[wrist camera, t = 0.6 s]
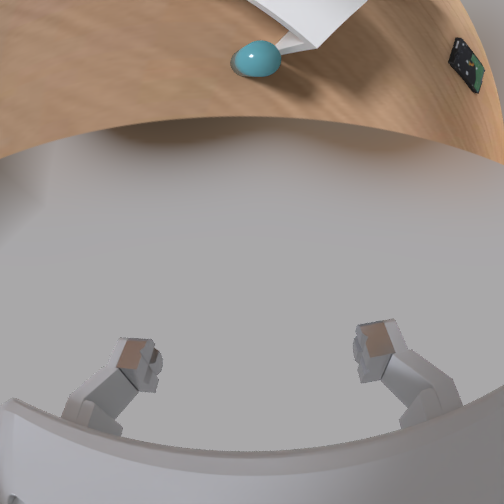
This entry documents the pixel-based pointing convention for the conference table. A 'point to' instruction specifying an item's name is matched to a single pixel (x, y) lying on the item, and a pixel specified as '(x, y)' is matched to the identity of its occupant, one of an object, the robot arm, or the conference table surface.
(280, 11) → the arch
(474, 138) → the conference table surface
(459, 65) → the disk drive
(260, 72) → the teal cylinder
